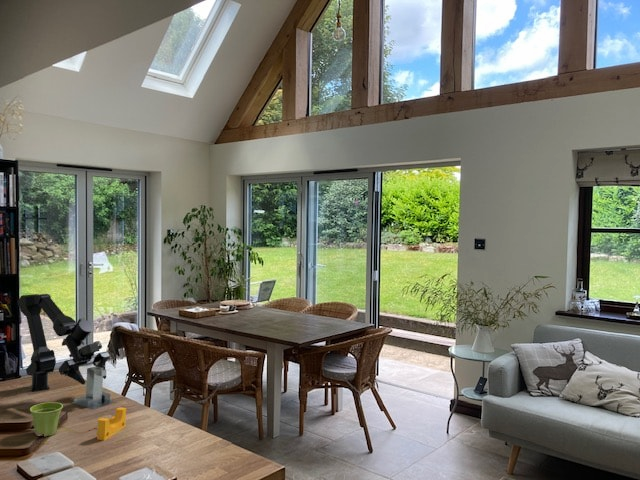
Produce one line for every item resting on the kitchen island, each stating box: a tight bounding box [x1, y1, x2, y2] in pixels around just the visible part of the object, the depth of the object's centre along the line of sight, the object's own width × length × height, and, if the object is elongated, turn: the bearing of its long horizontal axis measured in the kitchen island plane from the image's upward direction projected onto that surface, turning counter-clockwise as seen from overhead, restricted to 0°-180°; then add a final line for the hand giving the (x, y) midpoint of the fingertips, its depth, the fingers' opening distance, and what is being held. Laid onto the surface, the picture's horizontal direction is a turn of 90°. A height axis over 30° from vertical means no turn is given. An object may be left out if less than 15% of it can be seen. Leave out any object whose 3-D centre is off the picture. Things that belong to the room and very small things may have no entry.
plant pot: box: [29, 401, 64, 438], centre depth 163 cm, size 9×9×9 cm
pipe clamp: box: [96, 407, 127, 441], centre depth 167 cm, size 12×4×6 cm, turn 170°
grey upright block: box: [85, 366, 107, 405], centre depth 190 cm, size 7×4×13 cm, turn 62°
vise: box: [71, 391, 116, 411], centre depth 190 cm, size 12×10×4 cm
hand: (95, 381), depth 190 cm, fingers open, 9 cm apart
